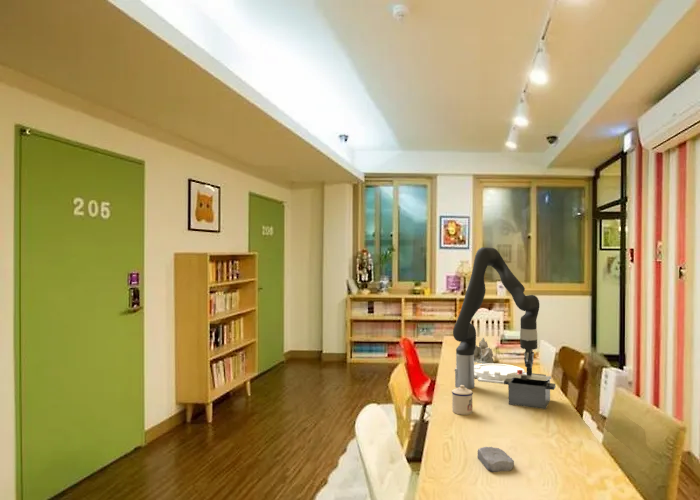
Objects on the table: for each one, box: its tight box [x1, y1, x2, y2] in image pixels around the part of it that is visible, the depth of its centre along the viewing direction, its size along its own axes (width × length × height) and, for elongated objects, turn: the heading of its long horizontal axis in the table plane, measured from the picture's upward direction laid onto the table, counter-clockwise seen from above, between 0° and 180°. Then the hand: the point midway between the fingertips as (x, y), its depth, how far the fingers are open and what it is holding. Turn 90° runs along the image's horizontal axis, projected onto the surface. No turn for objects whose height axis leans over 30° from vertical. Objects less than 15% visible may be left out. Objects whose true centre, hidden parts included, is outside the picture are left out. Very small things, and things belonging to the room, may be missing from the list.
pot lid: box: [507, 370, 552, 381], centre depth 229 cm, size 17×25×3 cm
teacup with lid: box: [451, 385, 474, 416], centre depth 219 cm, size 12×9×12 cm
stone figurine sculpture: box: [474, 337, 494, 364], centre depth 321 cm, size 16×16×15 cm
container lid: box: [474, 362, 526, 385], centre depth 283 cm, size 30×35×6 cm
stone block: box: [477, 446, 515, 473], centre depth 163 cm, size 12×5×10 cm
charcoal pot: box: [504, 377, 556, 410], centre depth 231 cm, size 22×16×10 cm
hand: (529, 374), depth 230 cm, fingers closed
